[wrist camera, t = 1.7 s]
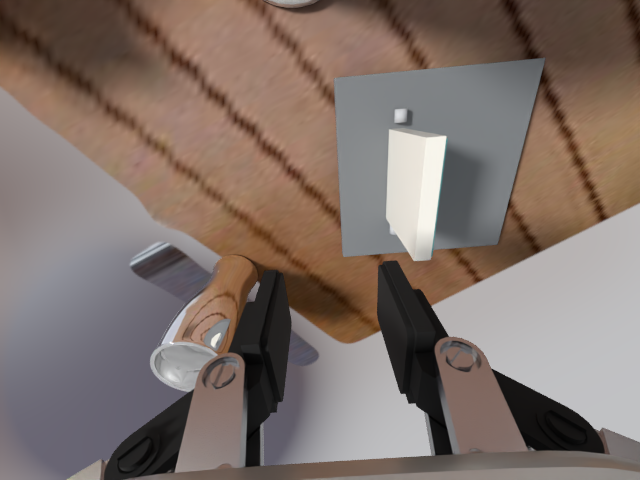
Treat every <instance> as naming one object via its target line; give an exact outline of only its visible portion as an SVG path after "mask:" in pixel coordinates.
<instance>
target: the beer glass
mask: <svg viewBox="0 0 640 480" xmlns="http://www.w3.org/2000/svg"><path fill="white" fill-rule="evenodd" d="M257 279H258V272H257V269H256V267H255V265H254V264H253V263H252V262H251V261H250V260H248V259H247V258H245V257H242V256H239V255H227V256H224V257H222V258H221V259H220V260H218V261H217V263H216V264H215V266H214V269H213V272H212V275H211V277H210V279H209V280H208V282H207V283H206V284H205V285H204V286H203V287H201V288H200V289H199V290H198V291H197V292H196V293H195V294H194V295H193V296H192V297H191V298H190V299H189V300H188V301H187V302H186V303H185V304H184V305H183V306H182V308H181V309H180V310H179V312H178V313H177V314H176V316H175V317H174V319H173V320H172V322H171V323H170V325H169V327H168V328H167V330H166V332H165V333H164V335H163V337H162V339H161V340H160V342H159V344H158V346H157V348H156V349H155V351H154V352H153V353H152V355H151V358H150V366H151V369H152V371H153V373H154V374H155V375H156V377H157V378H158V379H160V380H161V381H162V382H163V383H165V384H167V385H169V386H171V387H173V388H176V389H179V390H182V391H188V392H190V391H191V390H193V389H194V388H195V384H196V380H197V377H198V374H199V372H200V370H201V369H202V367H203V366H204V365H205V364H206V363H207V362H208V361H209V360H210V359H212V358H214V357H216V356H217V355H220V354H223V353H228V350H229V348H230V345H231V342H232V340H233V337H234V334H235V331H236V329H237V326H238V323H239V320H240V318H241V315H242V312H243V309H244V307H245V305H246V303H247V300H248V295H249V293H250V291H251V289H252V288H253V287H254V285H255V284H256V282H257Z"/></svg>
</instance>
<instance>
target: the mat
mask: <svg viewBox="0 0 640 480" xmlns="http://www.w3.org/2000/svg"><path fill="white" fill-rule="evenodd" d="M544 62H545V58H539V59H528V60H518V61H507V62H497V63H486V64H476V65H465V66H455V67H444V68H434V69H423V70H413V71H402V72H392V73H381V74H371V75H360V76H350V77H340V78H334V94H335V114H336V134H337V154H338V174H339V194H340V215H341V235H342V253H343V257H348V256H360V255H373V254H386V253H398V252H408V251H407V249H406V248H405V246H404V245H403V243H402V242H401V240H400V239H399V237H398V236H397V234H396V233H395V231H394V230H393V228H392V227H391V225H390V224H389V222H388V221H387V219H386V201H387V173H388V145H389V129H397V128H405V129H411V130H417V131H422V132H428V133H434V134H439V135H445V136H447V137H446V138H448V141H447V148H446V156H445V164H444V171H443V179H442V186H441V194H440V201H439V209H438V217H437V224H436V232H435V239H434V247H433V250H436V249H449V248H461V247H474V246H487V245H497V244H498V241H499V237H500V233H501V229H502V225H503V221H504V217H505V213H506V210H507V206H508V202H509V198H510V194H511V190H512V186H513V182H514V179H515V175H516V171H517V167H518V163H519V159H520V155H521V151H522V148H523V144H524V140H525V136H526V132H527V128H528V124H529V120H530V117H531V113H532V109H533V105H534V101H535V97H536V93H537V89H538V86H539V82H540V78H541V74H542V70H543V66H544Z"/></svg>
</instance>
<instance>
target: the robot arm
mask: <svg viewBox="0 0 640 480" xmlns="http://www.w3.org/2000/svg"><path fill="white" fill-rule="evenodd" d="M263 1H266V2H268V3H270V4H272V5H275V6H280V7H285V8H298V7H303V6H307V5H310V4H313V3H315V2H317V1H319V0H263ZM377 316H378V321H379V325H380V328H381V331H382V334H383V337H384V341H385V344H386V348H387V351H388V354H389V358H390V361H391V364H392V368H393V371H394V374H395V378H396V381H397V384H398V387H399V391H400V393H401V394H406V397H407V400H408V403H409V404H411V403H416V406H417V407H419V408H420V409H421V410H423V411H424V412H425V419H426V425H427V431H428V436H429V443H430V449H431V455H432V456H420V457H403V458H402V457H401V458H384V459H368V460H352V461H334V462H319V463H303V464H287V465H271V466H264V447H263V446H264V445H263V422H264V421H265V420H266V419H267V418H268V417H269V416H270V413H272V412H277V404H278V402H282V401H283V396H284V387H285V378H286V369H287V361H288V352H289V343H290V334H291V316H290V310H289V304H288V299H287V293H286V287H285V282H284V276H283V273H279V272H278V270H269V271H264V274H263V277H262V280H261V283H260V286H259V289H258V292H257V295H256V299H255V301H254V302H247V303H246V305H245V307H244V309H243V312H242V315H241V318H240V320H239V323H238V326H237V329H236V331H235V334H234V337H233V340H232V342H231V345H230V348H229V350H228V353H223V354H220V355H217V356H216V357H214V358H212V359H210V360H209V361H208V362H207V363H206V364H205V365H204V366H203V367H202V369H201V370H200V372H199V374H198V377H197V380H196V384H195V388H194V389H193V390H191V391H190V392H189V393H187V394H186V395H185V396H184V397H182V398H180V399H179V400H178V401H176V402H175V403H174V404H172V405H171V406H170V407H168V408H167V409H165V410H164V411H163V412H161V413H160V414H159V415H157V416H156V417H155V418H153V419H152V420H150V421H149V422H148V423H146V424H145V425H144V426H142V427H141V428H140V429H138V430H137V431H136V432H134V433H133V434H132V435H130V436H129V437H128V438H127V439H125V440H124V441H123V442H122V443H121V444H120V445H119V447H118V448H117V449H116V450H115V451H114V453H113V454H112V456H111V458H110V459H108V460H107V461H105V462H104V461H103V460H102V459H100V460H99V461H97V462H95V463H94V464H92V465H90V466H89V467H87V468H85V469H83V470H82V471H80V472H78V473H77V474H75V475H73V476H72V477H70V478H68V479H67V480H640V442H637V441H635V440H632V439H630V438H627V437H625V436H622V435H620V434H617V433H615V432H612V431H610V430H607V429H605V428H602V429H601V430H600V431H598V430H596V429H594V428H593V427H592V426H591V425H590V424H589V422H587V421H586V420H585V419H584V418H583V417H581V416H580V415H579V414H578V413H576V412H574V411H573V410H571V409H569V408H568V407H566V406H564V405H562V404H560V403H558V402H556V401H554V400H552V399H550V398H548V397H546V396H544V395H542V394H540V393H538V392H536V391H534V390H533V389H531V388H529V387H527V386H525V385H523V384H521V383H519V382H517V381H515V380H513V379H511V378H509V377H507V376H505V375H503V374H501V373H499V372H497V371H495V370H493V369H491V367H490V365H489V363H488V360H487V358H486V356H485V355H484V353H483V352H482V351H481V350H480V349H479V348H478V347H477V346H476V345H474V344H473V343H471V342H469V341H467V340H464V339H462V338H457V337H449V336H448V334H447V333H446V331H445V329H444V327H443V326H442V324H441V322H440V321H439V319H438V317H437V316H436V314H435V312H434V311H433V309H432V307H431V305H430V304H429V302H428V300H427V299H426V297H425V295H424V294H423V292H422V291H421V290H420V289H415V290H413V289H412V287H411V285H410V284H409V282H408V280H407V278H406V276H405V274H404V273H403V271H402V269H401V267H400V265H399V264H398V262H397V261H384V262H383V265H379V266H378V302H377Z"/></svg>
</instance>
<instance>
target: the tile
mask: <svg viewBox="0 0 640 480" xmlns="http://www.w3.org/2000/svg"><path fill="white" fill-rule="evenodd" d="M446 137H447V136H445V135H439V134H434V133H428V132H422V131H417V130H411V129H405V128H397V129H389V145H388V173H387V201H386V219H387V221H388V222H389V224H390V225H391V227H392V228H393V230H394V231H395V233H396V234H397V236H398V237H399V239H400V240H401V242H402V243H403V245H404V246H405V248H406V249H407V251H408V252H409V254H410V255H411V257H412V258H413V260H414V261H422V260H431V257H432V255H433V247H434V239H435V232H436V224H437V217H438V209H439V201H440V194H441V186H442V179H443V171H444V164H445V156H446V148H447V141H448V138H446Z"/></svg>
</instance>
